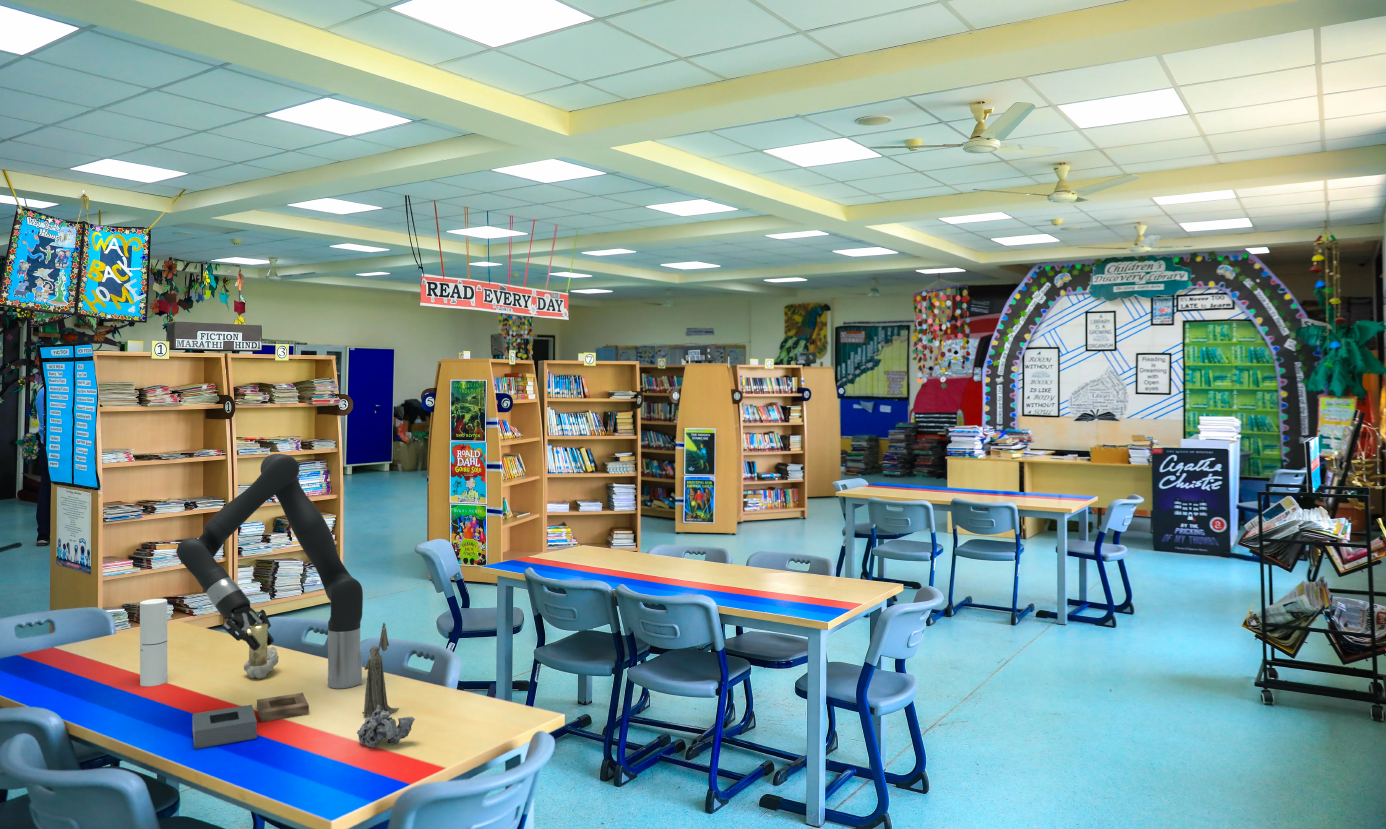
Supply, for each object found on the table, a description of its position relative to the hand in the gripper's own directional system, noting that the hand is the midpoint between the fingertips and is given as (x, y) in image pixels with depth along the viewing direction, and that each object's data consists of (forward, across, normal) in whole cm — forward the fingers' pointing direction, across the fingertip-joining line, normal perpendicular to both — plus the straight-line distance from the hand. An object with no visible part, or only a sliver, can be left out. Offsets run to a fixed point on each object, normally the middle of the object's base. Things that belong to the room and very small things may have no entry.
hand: (264, 645), depth 239 cm
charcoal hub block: (+13, -11, +16) cm, 23 cm away
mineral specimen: (+42, -5, -14) cm, 45 cm away
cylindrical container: (-24, +18, +54) cm, 61 cm away
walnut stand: (+14, +8, +14) cm, 22 cm away
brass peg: (+2, 0, +5) cm, 6 cm away
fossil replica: (-6, +33, +35) cm, 48 cm away
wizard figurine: (+33, +14, -4) cm, 36 cm away
